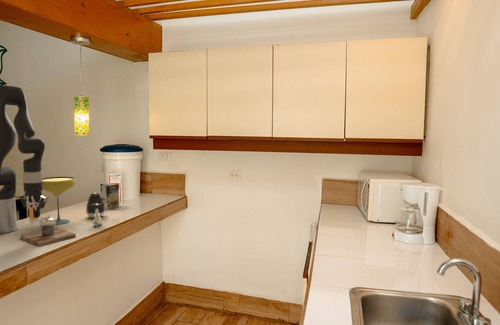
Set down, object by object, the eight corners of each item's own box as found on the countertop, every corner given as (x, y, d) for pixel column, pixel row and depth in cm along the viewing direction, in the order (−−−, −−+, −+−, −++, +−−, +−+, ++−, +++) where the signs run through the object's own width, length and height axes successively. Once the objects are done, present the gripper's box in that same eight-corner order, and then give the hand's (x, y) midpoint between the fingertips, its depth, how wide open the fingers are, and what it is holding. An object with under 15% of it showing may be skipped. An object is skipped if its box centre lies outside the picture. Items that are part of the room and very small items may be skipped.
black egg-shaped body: (89, 220, 204) (88, 194, 203) (84, 216, 212) (83, 192, 210) (107, 217, 211) (106, 192, 209) (101, 214, 219) (100, 190, 217)
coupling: (26, 229, 165) (25, 206, 164) (48, 222, 176) (47, 201, 175) (36, 230, 162) (35, 208, 161) (58, 224, 174) (57, 203, 172)
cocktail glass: (51, 217, 208) (49, 176, 205) (82, 218, 208) (80, 176, 206) (33, 226, 190) (30, 181, 187) (66, 227, 190) (64, 181, 188)
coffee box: (107, 210, 229) (106, 185, 227) (101, 208, 232) (100, 184, 231) (119, 207, 236) (118, 184, 234) (114, 206, 240) (113, 183, 238)
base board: (20, 238, 171) (19, 226, 170) (55, 230, 185) (55, 218, 184) (39, 246, 160) (38, 233, 159) (75, 236, 174) (75, 225, 173)
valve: (90, 226, 191) (89, 205, 190) (92, 223, 197) (91, 202, 196) (103, 226, 193) (102, 204, 192) (104, 222, 199) (104, 202, 198)
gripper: (13, 181, 160) (14, 217, 162) (39, 183, 158) (40, 220, 159) (26, 178, 168) (28, 214, 170) (51, 180, 165) (52, 216, 167)
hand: (34, 217), depth 165 cm, fingers closed on coupling, 3 cm apart
